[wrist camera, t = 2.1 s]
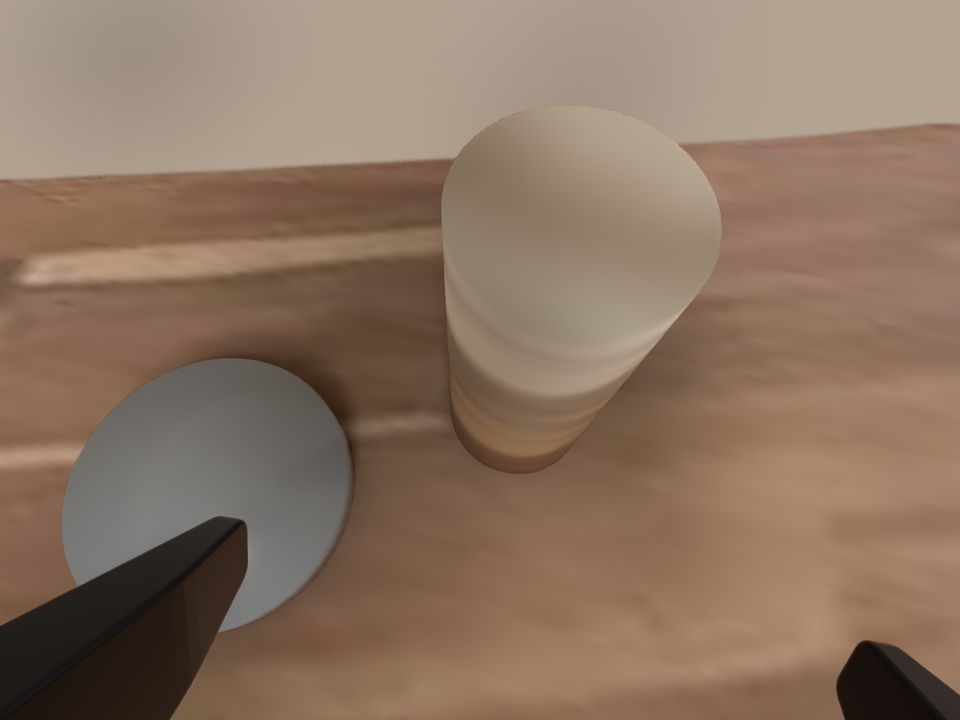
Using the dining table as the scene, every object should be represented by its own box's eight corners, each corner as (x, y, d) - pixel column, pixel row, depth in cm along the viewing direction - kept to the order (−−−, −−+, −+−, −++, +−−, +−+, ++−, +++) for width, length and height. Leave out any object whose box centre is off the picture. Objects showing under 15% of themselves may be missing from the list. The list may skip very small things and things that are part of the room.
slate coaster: (260, 687, 18) (243, 696, 17) (30, 556, 19) (-4, 554, 18) (399, 431, 22) (394, 421, 20) (197, 336, 23) (181, 320, 22)
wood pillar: (551, 496, 21) (677, 383, 9) (428, 438, 22) (389, 261, 10) (598, 380, 23) (750, 159, 11) (484, 331, 24) (509, 73, 12)
